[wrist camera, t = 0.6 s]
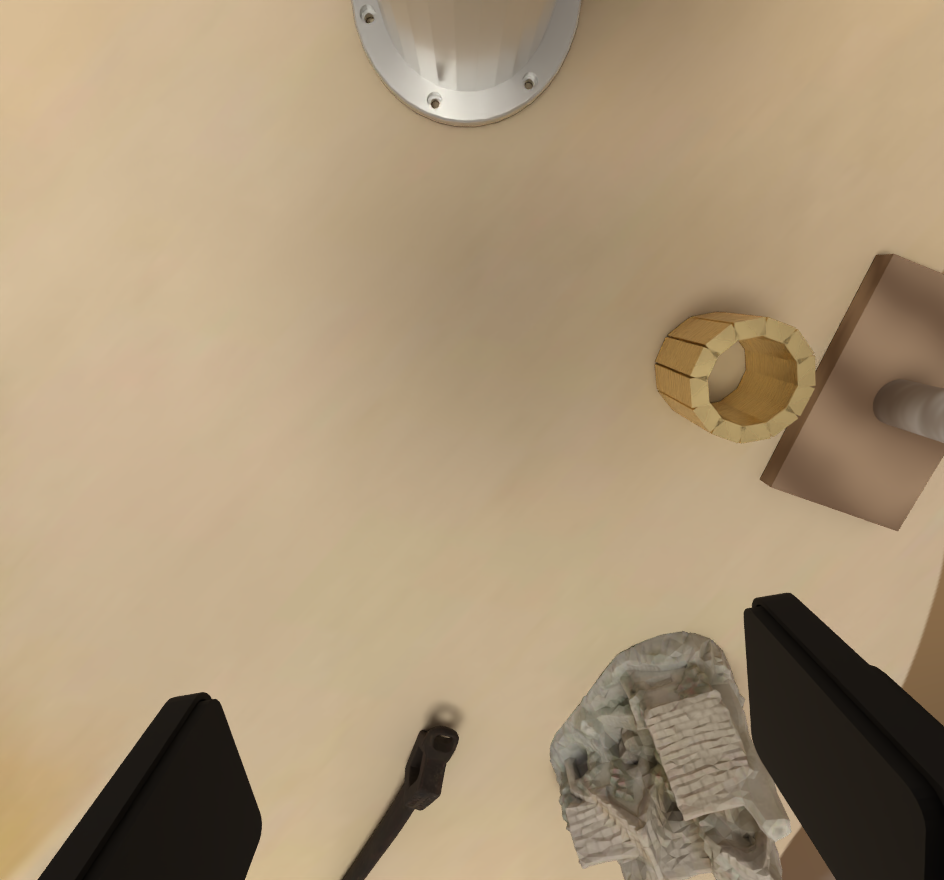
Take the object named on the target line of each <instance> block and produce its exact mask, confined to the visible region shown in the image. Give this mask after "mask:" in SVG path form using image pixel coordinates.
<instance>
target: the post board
mask: <svg viewBox="0 0 944 880" xmlns="http://www.w3.org/2000/svg"><path fill="white" fill-rule="evenodd" d="M815 381H816V386H810V387H812V388H815V389H814V391H813V393H812V395H811V397H810V399H809V401H808V403H807V404H806V406H805V408H804V410H803V412H802V414H801V416H799V415H796V416H797V417H798V419H797V420H796V421H794V422H793V423H792V424H790V425H789V426H787V428H786V430H785V432H784V434H783V436H782V438H781V440H780V442H779V444H778V445H777V447H776V449H775V451H774V453H773V455H772V457H771V459H770V461H769V463H768V465H767V467H766V469H765V470H764V472H763V474H762V476H761V478H760V480H761V481H763V482H764V483H766V484H767V485H769V486H770V487H772V488H775V489H778V490H781V491H784V492H786V493H789V494H792V495H795V496H798V497H801V498H804V499H807V500H809V501H812V502H815V503H818V504H821V505H824V506H827V507H829V508H832V509H835V510H838V511H841V512H844V513H847V514H850V515H852V516H855V517H858V518H861V519H864V520H867V521H870V522H872V523H875V524H878V525H881V526H884V527H887V528H890V529H893V530H895V531H898V530H899V529H900V527H901V525H902V524H903V522H904V520H905V519H906V517H907V515H908V514H909V512H910V510H911V509H912V507H913V506H914V504H915V502H916V501H917V499H918V497H919V496H920V494H921V492H922V491H923V489H924V487H925V486H926V484H927V482H928V481H929V479H930V477H931V476H932V474H933V472H934V471H935V469H936V468H937V466H938V464H939V463H940V461H941V459H942V458H943V456H944V274H942V273H939V272H937V271H934V270H932V269H930V268H927V267H925V266H922V265H920V264H917V263H915V262H912V261H910V260H907V259H905V258H903V257H900V256H898V255H895V254H887V255H876V257H875V259H874V261H873V263H872V265H871V267H870V268H869V270H868V272H867V274H866V276H865V278H864V280H863V282H862V284H861V286H860V288H859V290H858V292H857V293H856V295H855V297H854V299H853V301H852V303H851V305H850V307H849V309H848V311H847V313H846V315H845V317H844V318H843V320H842V322H841V324H840V326H839V328H838V330H837V332H836V334H835V336H834V338H833V340H832V342H831V343H830V345H829V347H828V349H827V351H826V353H825V355H824V357H823V359H822V361H821V363H820V365H819V367H818V368H817V370H816V372H815Z"/></svg>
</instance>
